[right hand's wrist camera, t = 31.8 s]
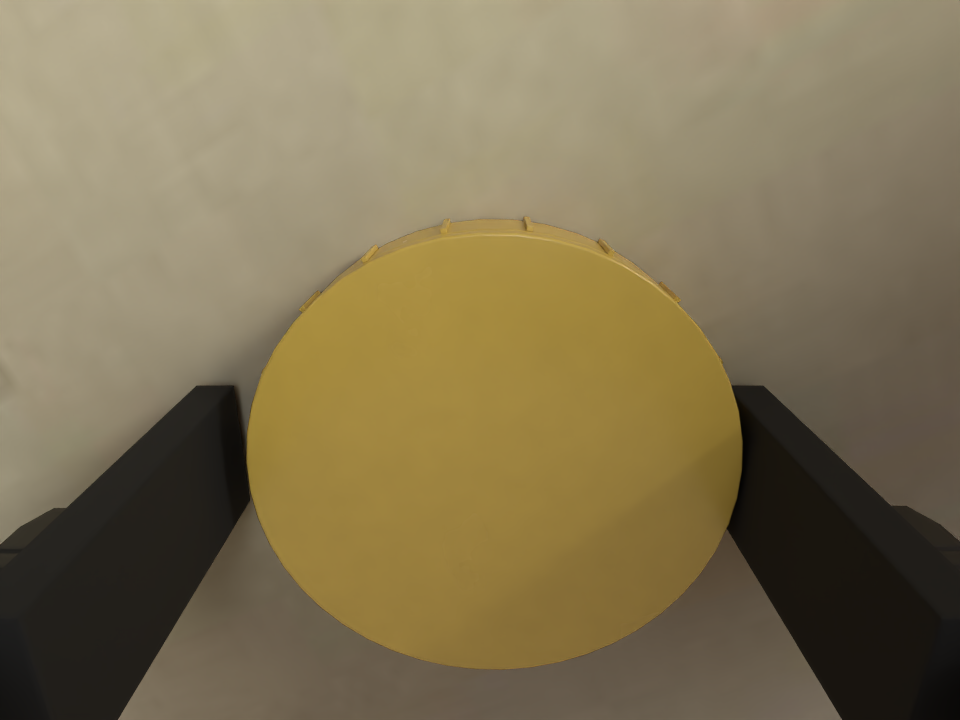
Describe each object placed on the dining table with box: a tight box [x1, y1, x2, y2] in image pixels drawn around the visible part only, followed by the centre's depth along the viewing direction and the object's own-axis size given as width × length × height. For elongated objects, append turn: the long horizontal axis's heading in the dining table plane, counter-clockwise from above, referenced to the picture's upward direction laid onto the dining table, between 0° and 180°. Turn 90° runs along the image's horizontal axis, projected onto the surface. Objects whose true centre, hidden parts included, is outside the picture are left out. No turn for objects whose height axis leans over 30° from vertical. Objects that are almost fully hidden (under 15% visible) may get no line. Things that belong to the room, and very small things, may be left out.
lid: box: [246, 217, 743, 670], centre depth 13 cm, size 9×9×2 cm
